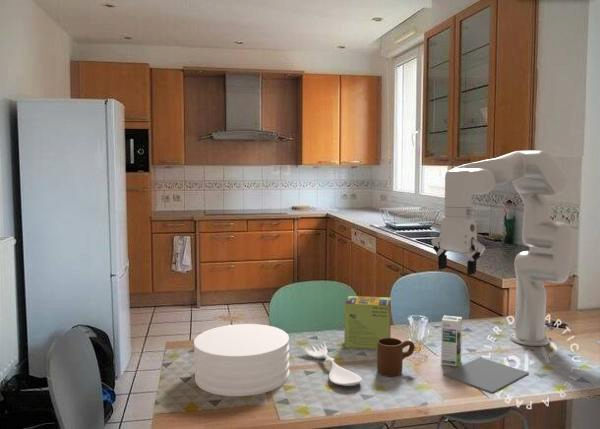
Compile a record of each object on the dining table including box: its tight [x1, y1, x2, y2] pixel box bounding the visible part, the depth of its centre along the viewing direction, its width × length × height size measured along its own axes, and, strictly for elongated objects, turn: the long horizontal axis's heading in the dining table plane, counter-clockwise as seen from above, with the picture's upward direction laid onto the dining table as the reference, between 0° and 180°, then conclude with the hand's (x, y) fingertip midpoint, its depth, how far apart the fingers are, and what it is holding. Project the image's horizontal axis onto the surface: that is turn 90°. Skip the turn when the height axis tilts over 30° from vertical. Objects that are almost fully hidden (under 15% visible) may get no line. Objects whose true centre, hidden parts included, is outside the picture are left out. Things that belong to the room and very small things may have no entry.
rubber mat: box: [442, 357, 529, 394], centre depth 155 cm, size 20×16×1 cm
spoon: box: [300, 341, 363, 387], centre depth 160 cm, size 9×32×4 cm, turn 20°
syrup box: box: [440, 314, 463, 368], centre depth 164 cm, size 6×6×14 cm
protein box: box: [343, 295, 392, 350], centre depth 182 cm, size 10×15×16 cm
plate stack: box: [193, 323, 290, 397], centre depth 156 cm, size 28×28×12 cm
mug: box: [376, 337, 416, 377], centre depth 158 cm, size 12×8×9 cm, turn 106°
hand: (456, 271), depth 152 cm, fingers open, 9 cm apart
